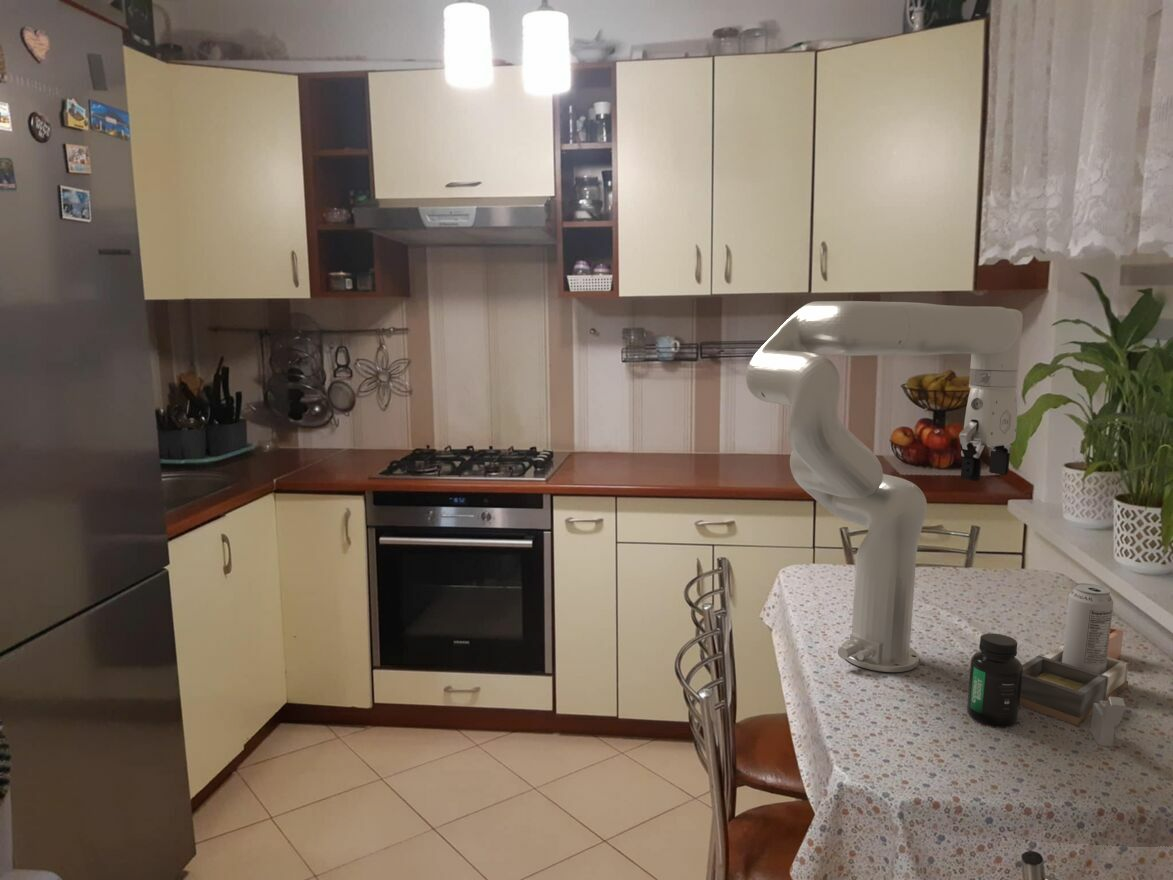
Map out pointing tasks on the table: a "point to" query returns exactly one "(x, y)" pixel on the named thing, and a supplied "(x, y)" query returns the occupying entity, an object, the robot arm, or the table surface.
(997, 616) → the table surface
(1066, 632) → the energy drink can
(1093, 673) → the wooden tray
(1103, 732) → the grey notched block
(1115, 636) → the square terracotta planter
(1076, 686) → the khaki flat square slab
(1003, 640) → the supplement bottle
